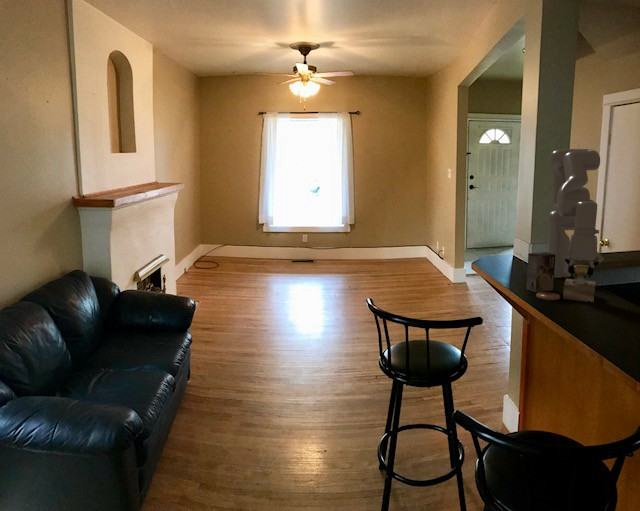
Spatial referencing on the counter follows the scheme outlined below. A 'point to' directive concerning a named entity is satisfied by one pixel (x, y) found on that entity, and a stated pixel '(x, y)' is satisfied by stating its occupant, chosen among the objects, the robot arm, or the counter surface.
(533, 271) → the coffee box
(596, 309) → the counter surface
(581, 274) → the pin
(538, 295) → the coaster
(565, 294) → the eye block
